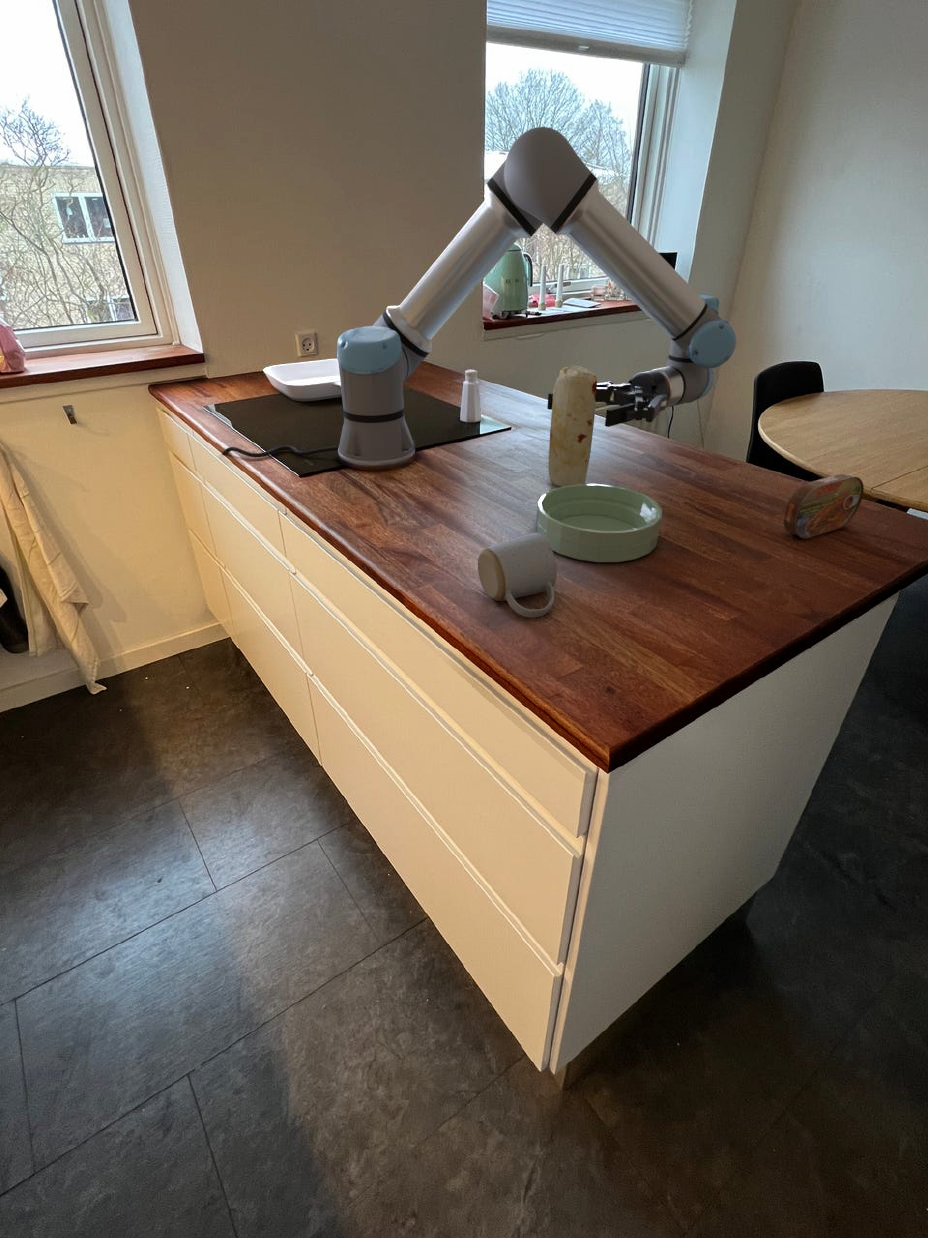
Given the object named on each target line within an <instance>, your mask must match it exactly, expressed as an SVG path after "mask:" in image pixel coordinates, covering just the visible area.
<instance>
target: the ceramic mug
mask: <svg viewBox="0 0 928 1238" xmlns="http://www.w3.org/2000/svg"><path fill="white" fill-rule="evenodd" d="M557 570H558V569H557V562H556V558H555V554H554V551H553V550H552V549H551V547H550V545H549V543H548V542H547V540H546V539H545V538H544V537H543V536H542V535H541V534H539V533H536V532H531V533H528V534H524V535H521V536H517V537H515V538H512V539H508V540H505V541H501V542H497V543H495V544H492V545H490V546H488V547H486V548H484V549H482V550H481V552H480V553H479V556H478V557H477V572H478V576H479V577H478V578H479V580H480V581H479V582H480V584H481V586H482V589H483V591H484V592H485V594H486V595H487V596H488V597H489V598H490V599H492V600H494V601H497V602H503V601H506V602H507V604H508V605H509V608H511V609H512V610H513V611H514V612H515V613H516V614H518V615H520V616H521V617H524V618H528V619H529V618H530V619H532V618H533V619H536V618H540V617H543V616H545V615H546V614H548V613H549V612H550V611H551V608H552V606H553V604H554V601H555V592H554V586H555V584H556V582H557V577H558V572H557ZM545 592H546V593H547V597H548V603H547V604H546V606H545V607H543V608H538V609H531V608H527V607H524V606H523V605H521V604H519V603H518V602H517V601H516V599H517V598H518V599H519V598H522V597H527V596H532V595H536V594H540V593H545Z"/></svg>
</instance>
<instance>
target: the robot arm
mask: <svg viewBox="0 0 928 1238" xmlns="http://www.w3.org/2000/svg"><path fill="white" fill-rule="evenodd" d="M506 155H507V156H506V158H505V160H504V161H503V162H502V164H501V165H500V166H499V168H498V169H496V171H495V173H494V174H493V175H492V176H491V177H490V179H489V180H488V181H487V183H486V184H485V190H484V193H485V194H484V201H482V203H481V204H480V206H479V207H478V208H477V209H476V210H475V212H474V213H473V215H472V216H470V218H469V219H468V220H467V221H466V223H465V224H464V225H463V226H462V228H461V229H460V231H459V232H458V233H457V234H456V235H455V236H454V238H453V239H452V241H450V243H448V245H447V246H446V248H445V249H444V250H443V251H442V253H441V254H440V255H439V256H438V257H437V259H436V260H435V261H434V262H433V264H432V265H431V266H430V267H429V269H427V271H426V272H425V273H424V275H423V276H422V277H421V278H420V280H419V281H418V282H417V283H416V285H415V286H414V287H413V288H412V289H411V291H410V292H409V293H408V294H407V296H406V297H405V298H404V300H403V301H402V302H401V303H400V304H399V305H388V306H387V307H386V308H385V310H384V311H383V312H382V314H381V315H380V316H379V317H378V319H377V320H376V321H375V322H374V323H373V325H367V326H366V325H365V326H358V327H355V328H353V329H351V328H350V329H348V330H346V331H344V332H342V334H340V336H339V337H338V339H337V344H336V345H337V350H336V357H337V358H336V359H337V360H338V363H339V372H340V382H341V392H342V397H341V401H342V409H343V426H342V430H341V435H340V439H339V444H338V445H335V446H327V447H321V448H319V447H318V448H316V449H309V450H304V451H303V450H298V449H297V448H296V447H294V446H292V445H279V446H276V447H274V448H271V449H269V450H266V451H263V452H250V451H247V450H245V449H242V448H240V447H237V446H230V447H227V448H225V449H224V450H223V451H222V453H221V455H222V456H223V455H228V454H229V453H231V452H237V453H239V454H241V455H244V456H247V457H250V458H263V457H267V456H270V455H273V454H275V453H277V452H280V451H285V450H286V451H292V452H293V453H295V454H296V455H298V456H310V455H314V454H319V453H325V452H331V451H332V452H333V451H337V453H338V461H339V463H341V464H342V465H343V466H345V467H347V468H350V469H354V470H359V471H387V470H394V469H399V468H402V467H405V466H407V465H410V464H411V463H412V462H413V461H414V460H415V459H416V450H417V446H416V445H417V444H416V442H415V440H413V438H412V435H411V432H410V429H409V427H408V425H407V422H406V419H405V405H404V404H405V399H404V398H405V397H404V384H405V382H406V381H407V380H408V379H409V378H410V377H411V376H412V375H413V374H414V372H415V370H416V369H417V368H418V367H419V366H420V365H421V364H422V363H423V362H424V360H425V359H426V358H427V356H428V355H429V354H430V353H431V352H432V350H433V342H432V340H433V338H434V337H435V335H436V334H437V333H438V332H439V331H440V330H441V329H442V327H444V325H445V324H446V323H447V322H448V320H450V318H451V317H452V316H453V315H454V314H455V313H456V311H458V309H459V308H461V306H462V304H464V303H465V301H466V300H467V299H468V298H469V297H470V295H471V294H472V293H473V292H474V291H475V290H476V288H477V287H478V286H479V285H480V284H481V283H482V281H483V280H484V279H485V278H486V277H487V275H488V274H489V273H490V272H491V271H492V270H493V269H494V267H496V266H497V264H498V263H499V262H500V261H501V260H502V258H503V257H504V256H505V255H506V254H507V253H508V252H509V250H510V249H511V248H512V247H513V246H514V244H516V242H517V241H518V240H520V239H531V238H532V237H533V236H534V235H535V233H536V232H537V231H538V230H539V229H540V228H541V227H542V225H545V226H546V227H547V228H548V229H549V230H550V231H551V232H552V233H553V234H554V235H556V236H566V237H567V238H568V239H569V240H570V241H571V242H572V243H574V245H575V246H576V247H578V248H579V250H580V251H581V252H583V253H584V254H585V255H586V256H587V257H588V258H589V260H590V261H592V262H593V263H594V265H596V266H597V267H598V268H599V270H601V271H602V272H603V273H604V274H605V275H606V276H607V277H608V278H609V280H611V281H612V282H613V284H615V285H616V286H617V287H618V288H619V289H620V290H621V291H622V292H623V293H624V294H625V295H626V296H627V297H628V298H629V299H630V300H631V301H632V302H633V303H634V304H635V305H636V306H637V307H638V308H639V309H640V310H642V312H643V313H644V314H645V315H646V316H647V317H648V318H649V319H650V320H651V321H652V322H653V323H654V324H655V325H657V327H659V329H661V331H662V332H664V333H665V334H666V335H667V336H668V337H669V339H671V340H670V346H669V352H668V355H667V356H668V357H667V362H666V366H664V367H658V368H654V369H651V370H647V371H642V372H638V373H636V374H634V375H633V376H631V378H630V379H629V381H627V382H624V383H621V384H614V382H613V381H611V380H610V381H605V382H597V390H596V403H605V405H606V406H615V407H612V408H608V409H606V412H605V421H604V427H607V428H610V427H613V426H618V425H620V424H621V425H622V424H625V423H628V422H631V421H634V420H635V421H642V419H645V422H646V423H652V422H653V421H654V420H655V419H656V418H657V416H658V415H659V413H660V412H662V411H665V410H666V409H668V408H671V407H674V406H679V405H683V404H689V403H693V402H695V401H697V400H700V399H702V398H704V397H705V396H707V395H708V394H709V393H710V392H711V391H712V388H713V386H714V383H715V375H714V369H716V368H719V367H721V366H723V365H724V364H726V363H727V362H728V361H729V360H730V359H731V357H732V356H733V354H734V352H735V350H736V347H737V334H736V332H735V330H734V329H733V327H732V325H731V324H730V323H729V322H727V320H724V319H722V318H721V316H720V315H719V308H720V299H719V298H718V297H717V296H714V295H706V294H699V293H698V292H696V291H695V289H694V288H693V287H692V286H691V285H690V284H689V283H688V282H687V281H686V280H685V279H684V278H683V277H682V276H681V275H680V274H679V272H677V271H676V270H675V268H673V266H672V265H671V264H670V263H669V262H668V261H667V260H666V259H665V258H664V257H663V256H662V255H661V254H660V253H659V252H658V251H657V250H656V249H655V248H654V247H653V246H652V245H651V243H649V242H648V240H647V239H646V238H645V237H644V236H643V235H642V234H641V233H640V232H639V231H638V230H637V229H636V228H635V227H634V226H633V225H632V224H631V223H630V222H629V221H628V220H627V219H626V217H625V216H623V214H621V213H620V211H619V210H618V209H617V208H616V207H615V206H614V205H613V204H612V202H610V201H609V200H608V199H607V198H606V197H605V195H604V194H603V193H601V191H600V187H599V178H598V177H596V175H595V174H594V173H593V172H592V171H591V170H590V169H589V168H588V166H587V165H586V164H585V163H584V161H583V160H582V158H581V157H580V156H579V155H578V154H577V151H576V150H575V149H574V147H573V146H572V145H571V143H570V142H569V140H568V139H567V137H566V136H564V134H563V133H561V132H560V131H559V130H556V129H555V128H552V127H547V126H538V127H537V126H536V127H532V128H531V129H528V130H526V131H525V132H523V133H522V134H521V135H519V136H518V138H516V139H515V141H514V142H513V143H512V145H511V147H510V149H509V151H508V153H507V154H506ZM612 396H613V397H612ZM611 397H612V398H613V399H612V400H611ZM552 403H553V392H550V393H549V392H548V393H547V410H549V411H552Z"/></svg>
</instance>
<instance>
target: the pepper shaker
mask: <svg viewBox="0 0 928 1238" xmlns="http://www.w3.org/2000/svg"><path fill="white" fill-rule="evenodd" d="M464 374H465V377H464V378H465V379H464V380H465V381H463V384H462V395H461V403H460V404H461V406H460V416H459V418H460V419H459V420H460V421H461V422H464V423H477V422H480V421H482V411H481V408H482V407H481V398H480V397H481V394H480V385H479V381H478V380H477V378H478V371H477V370H475V369H466V370H465V371H464Z"/></svg>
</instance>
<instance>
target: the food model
mask: <svg viewBox="0 0 928 1238" xmlns="http://www.w3.org/2000/svg"><path fill="white" fill-rule="evenodd" d="M597 383H598V378H597V376H596V375H595V373H594V372H592V371H590V370H589V369H588V368H586V367H584V366H581V365H577V364H576V365H568V366H565V367H563V368H560V371H559V375H558V376H557V379H556V380H555V382H554V386H553V390H552V393H553V403H552V409H551V417H550V427H549V444H548V445H549V446H548V466H547V467H548V476H549V479H550V482H551V483H553V485H554V486H556V487H563V486H569V485H576V484H585V482H586V480H587V479H586V478H587V474H588V468H589V463H590V457H591V451H592V442H593V434H594V424H595V415H596V403H597V402H596V390H597Z"/></svg>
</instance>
